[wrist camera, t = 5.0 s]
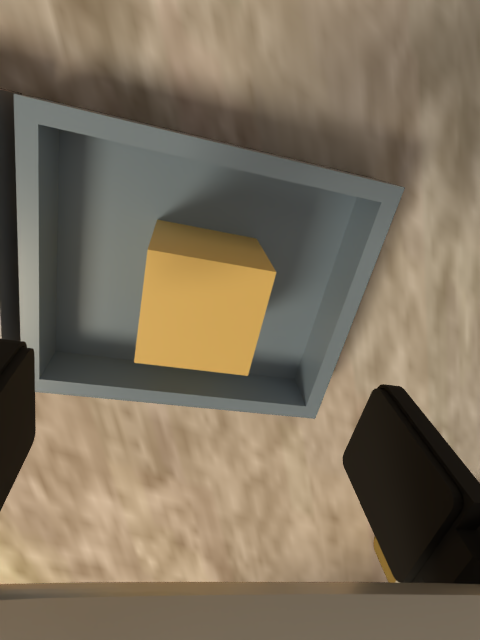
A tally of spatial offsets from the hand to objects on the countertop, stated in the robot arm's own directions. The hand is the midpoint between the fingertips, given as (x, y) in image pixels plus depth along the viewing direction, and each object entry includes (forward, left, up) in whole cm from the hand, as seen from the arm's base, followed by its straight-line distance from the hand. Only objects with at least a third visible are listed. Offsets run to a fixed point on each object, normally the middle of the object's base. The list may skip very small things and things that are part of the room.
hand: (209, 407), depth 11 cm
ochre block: (0, 0, -11) cm, 11 cm away
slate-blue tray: (0, 0, -11) cm, 11 cm away
